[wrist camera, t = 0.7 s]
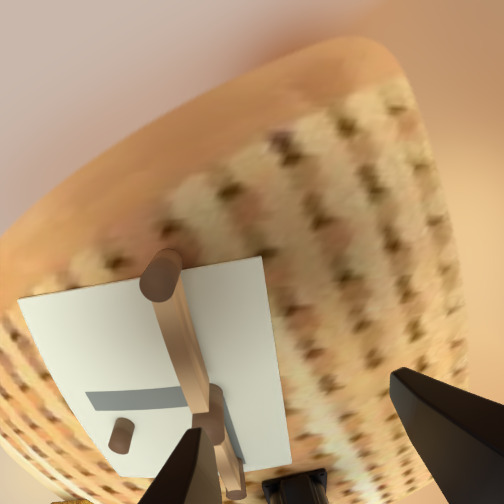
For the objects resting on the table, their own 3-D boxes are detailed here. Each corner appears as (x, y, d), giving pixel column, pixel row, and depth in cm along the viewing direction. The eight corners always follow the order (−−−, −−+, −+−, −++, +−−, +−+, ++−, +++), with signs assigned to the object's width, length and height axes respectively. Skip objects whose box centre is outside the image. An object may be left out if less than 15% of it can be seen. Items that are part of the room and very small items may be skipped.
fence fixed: (246, 461, 22) (250, 500, 18) (148, 468, 22) (142, 504, 18) (219, 378, 19) (220, 424, 15) (98, 389, 19) (81, 429, 15)
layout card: (291, 461, 23) (292, 463, 23) (120, 474, 22) (120, 476, 22) (260, 255, 17) (261, 257, 17) (19, 298, 16) (16, 300, 16)
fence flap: (214, 379, 18) (214, 413, 15) (189, 382, 18) (186, 416, 15) (179, 246, 16) (169, 265, 13) (150, 251, 16) (135, 271, 13)
